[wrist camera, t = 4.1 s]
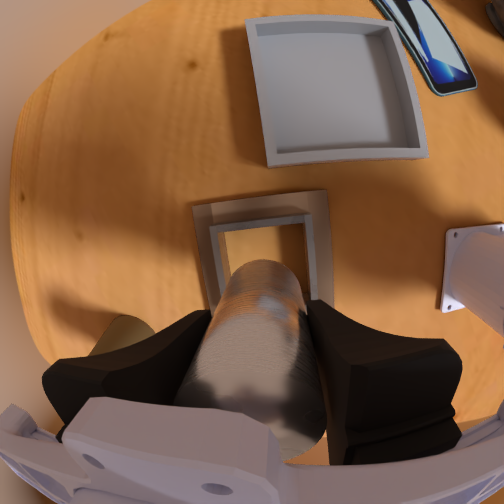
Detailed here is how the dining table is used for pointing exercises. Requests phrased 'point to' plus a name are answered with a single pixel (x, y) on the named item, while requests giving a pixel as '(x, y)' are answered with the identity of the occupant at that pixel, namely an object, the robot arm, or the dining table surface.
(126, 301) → the dining table surface
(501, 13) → the pitcher
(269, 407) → the metal peg
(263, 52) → the tray
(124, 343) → the olive pepper mill
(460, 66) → the smartphone
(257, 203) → the collar stand
